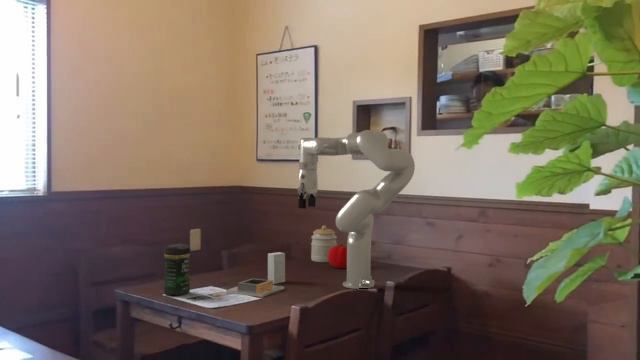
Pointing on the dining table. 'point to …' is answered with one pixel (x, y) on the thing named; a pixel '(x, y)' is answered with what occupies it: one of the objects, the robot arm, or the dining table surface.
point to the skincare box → (276, 267)
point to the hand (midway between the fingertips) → (306, 207)
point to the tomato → (338, 256)
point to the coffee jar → (177, 269)
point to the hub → (255, 288)
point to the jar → (322, 244)
